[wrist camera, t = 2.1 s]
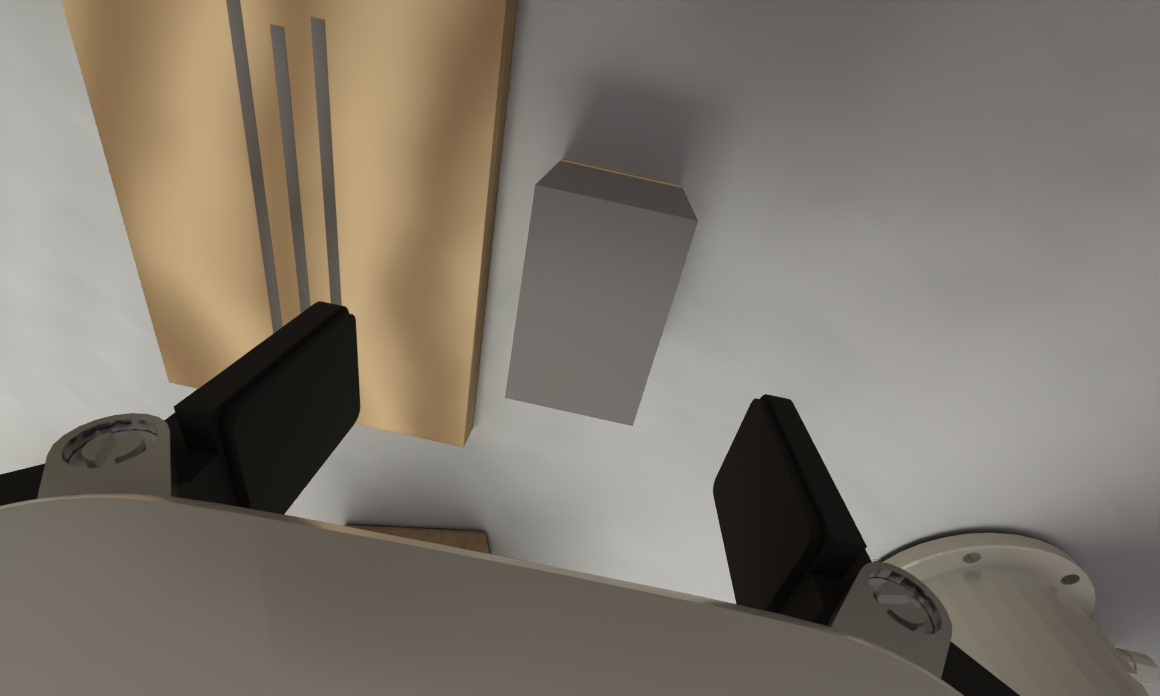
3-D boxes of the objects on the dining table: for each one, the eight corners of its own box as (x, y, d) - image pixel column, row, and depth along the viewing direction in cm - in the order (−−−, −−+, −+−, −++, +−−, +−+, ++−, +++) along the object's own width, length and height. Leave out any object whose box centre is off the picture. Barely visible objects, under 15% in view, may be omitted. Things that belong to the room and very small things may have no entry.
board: (525, -75, 16) (514, -91, 15) (472, 428, 27) (463, 447, 25) (58, -181, 16) (2, -207, 15) (193, 366, 27) (168, 382, 25)
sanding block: (681, 185, 20) (697, 220, 14) (633, 350, 23) (632, 425, 18) (562, 159, 20) (535, 184, 14) (534, 328, 23) (505, 397, 18)
